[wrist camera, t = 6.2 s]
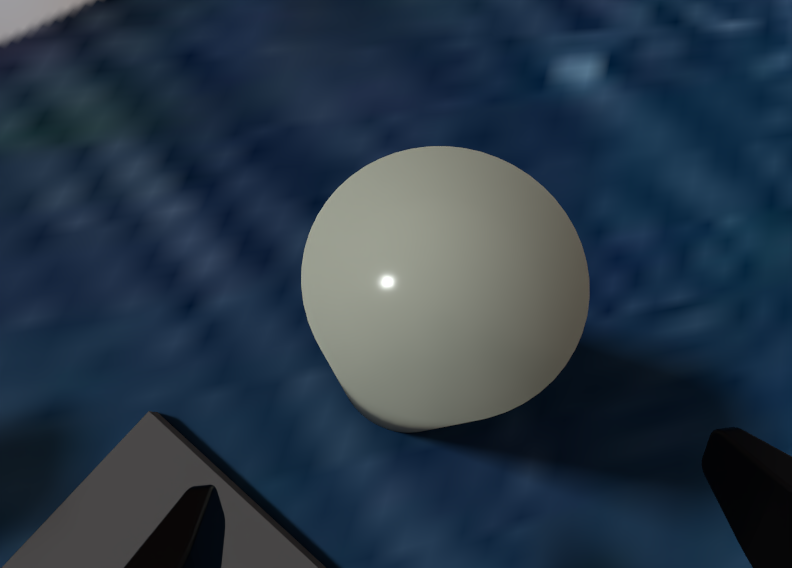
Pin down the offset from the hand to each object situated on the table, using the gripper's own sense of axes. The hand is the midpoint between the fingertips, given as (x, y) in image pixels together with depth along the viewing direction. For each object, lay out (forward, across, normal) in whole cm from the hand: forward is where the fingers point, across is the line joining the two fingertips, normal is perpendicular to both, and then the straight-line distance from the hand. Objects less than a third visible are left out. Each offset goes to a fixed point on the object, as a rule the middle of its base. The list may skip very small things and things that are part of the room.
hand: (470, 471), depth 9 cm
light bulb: (+10, 0, +5) cm, 11 cm away
